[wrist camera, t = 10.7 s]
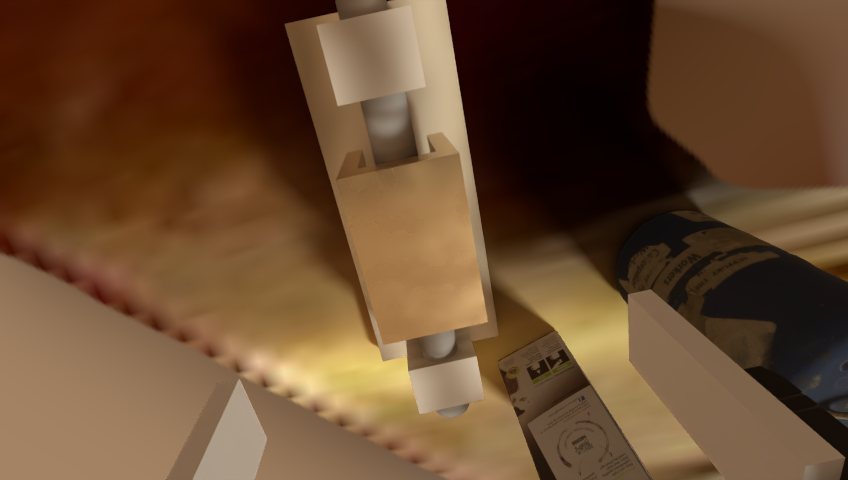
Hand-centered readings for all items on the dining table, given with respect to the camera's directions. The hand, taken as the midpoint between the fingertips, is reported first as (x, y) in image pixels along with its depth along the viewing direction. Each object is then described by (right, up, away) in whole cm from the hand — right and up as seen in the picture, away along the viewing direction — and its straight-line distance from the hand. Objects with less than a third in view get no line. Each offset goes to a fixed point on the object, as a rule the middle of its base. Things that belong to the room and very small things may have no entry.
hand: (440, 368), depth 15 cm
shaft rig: (-2, +7, +19) cm, 20 cm away
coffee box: (+11, -9, +26) cm, 30 cm away
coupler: (-1, +6, +15) cm, 16 cm away
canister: (+20, +3, +23) cm, 30 cm away
